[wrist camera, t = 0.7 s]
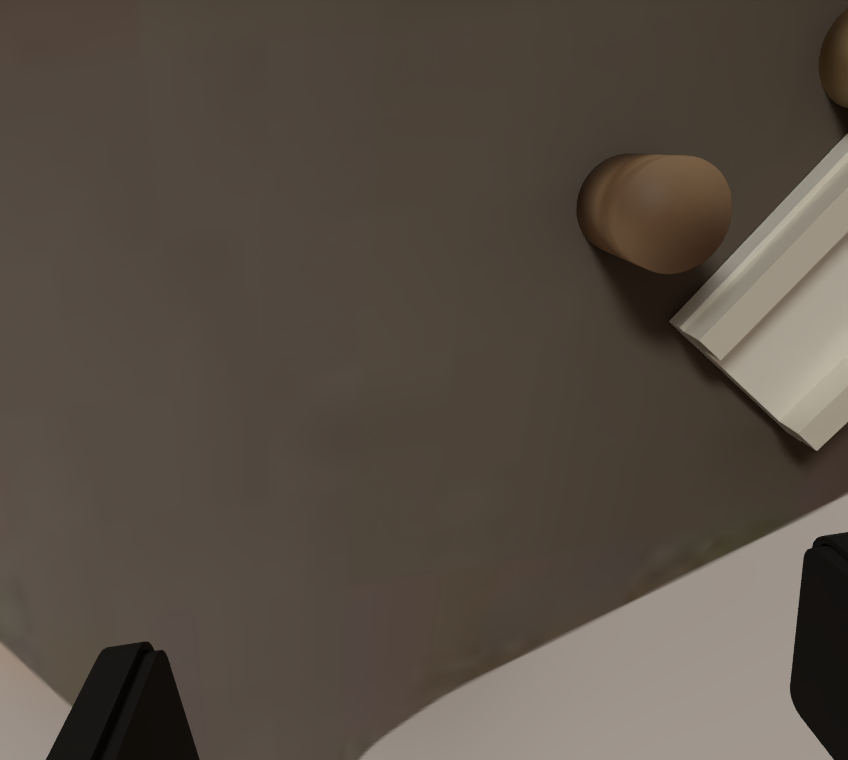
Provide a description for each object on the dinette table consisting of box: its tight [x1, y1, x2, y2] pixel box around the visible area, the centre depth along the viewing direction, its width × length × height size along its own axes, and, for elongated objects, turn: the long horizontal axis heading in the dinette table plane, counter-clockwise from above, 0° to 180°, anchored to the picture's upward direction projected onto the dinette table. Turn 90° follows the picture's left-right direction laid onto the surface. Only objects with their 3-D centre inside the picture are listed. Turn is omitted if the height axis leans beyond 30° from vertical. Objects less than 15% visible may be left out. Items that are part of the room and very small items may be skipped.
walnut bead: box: [577, 154, 732, 274], centre depth 29 cm, size 5×5×6 cm
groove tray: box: [669, 133, 848, 451], centre depth 32 cm, size 13×10×3 cm
